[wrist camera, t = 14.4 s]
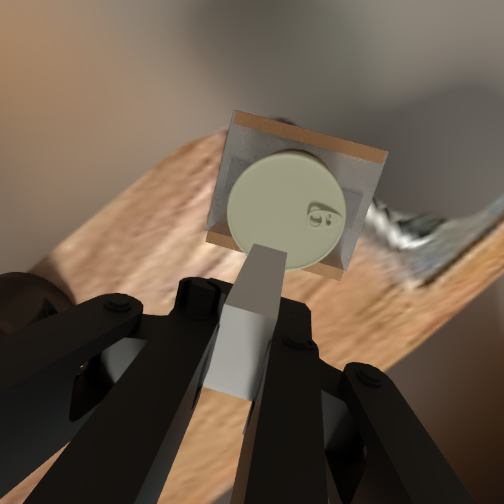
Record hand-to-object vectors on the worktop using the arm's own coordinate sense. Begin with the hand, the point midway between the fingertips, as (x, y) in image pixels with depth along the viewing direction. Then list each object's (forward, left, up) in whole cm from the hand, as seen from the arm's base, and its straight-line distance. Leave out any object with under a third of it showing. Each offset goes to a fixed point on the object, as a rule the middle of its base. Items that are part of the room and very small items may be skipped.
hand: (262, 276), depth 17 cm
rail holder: (0, 0, -26) cm, 26 cm away
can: (0, 0, -25) cm, 25 cm away
